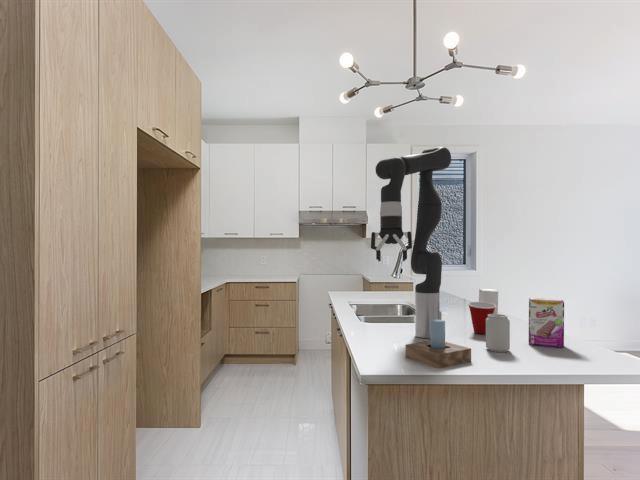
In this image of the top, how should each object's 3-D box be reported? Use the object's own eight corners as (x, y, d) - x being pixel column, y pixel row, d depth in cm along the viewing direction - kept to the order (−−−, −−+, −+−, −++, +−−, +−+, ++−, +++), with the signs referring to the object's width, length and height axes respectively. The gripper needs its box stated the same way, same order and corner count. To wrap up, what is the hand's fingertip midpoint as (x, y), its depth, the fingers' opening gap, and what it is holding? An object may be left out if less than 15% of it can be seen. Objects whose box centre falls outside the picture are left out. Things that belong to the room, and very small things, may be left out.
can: (508, 348, 146) (508, 313, 146) (510, 353, 139) (510, 317, 139) (485, 346, 149) (485, 312, 149) (486, 352, 141) (486, 316, 142)
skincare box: (478, 322, 195) (478, 288, 196) (493, 322, 195) (492, 288, 195) (483, 325, 187) (483, 290, 187) (498, 325, 186) (498, 290, 187)
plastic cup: (475, 336, 165) (475, 305, 165) (463, 330, 176) (463, 301, 176) (501, 335, 166) (501, 305, 166) (488, 330, 177) (488, 301, 177)
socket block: (437, 351, 142) (437, 339, 142) (471, 361, 130) (471, 348, 130) (405, 357, 135) (405, 344, 135) (438, 368, 123) (438, 354, 123)
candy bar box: (528, 345, 151) (528, 299, 151) (528, 342, 155) (528, 297, 156) (564, 348, 146) (564, 300, 146) (563, 345, 151) (563, 299, 151)
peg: (437, 356, 135) (437, 319, 136) (448, 360, 132) (448, 321, 132) (427, 358, 133) (427, 320, 133) (438, 362, 129) (437, 322, 130)
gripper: (412, 215, 151) (412, 260, 151) (372, 216, 155) (372, 260, 155) (411, 214, 144) (411, 261, 144) (369, 215, 147) (370, 261, 147)
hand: (391, 261), depth 149 cm, fingers open, 8 cm apart
